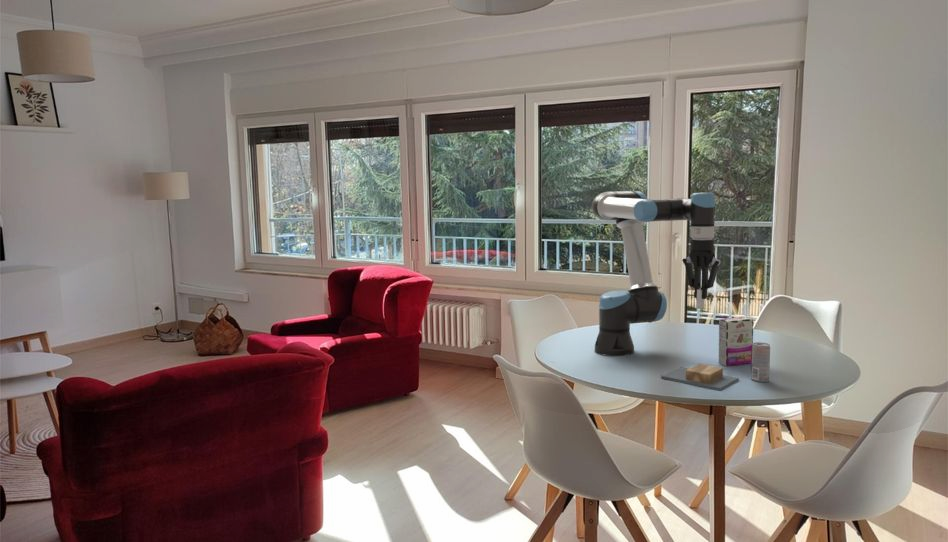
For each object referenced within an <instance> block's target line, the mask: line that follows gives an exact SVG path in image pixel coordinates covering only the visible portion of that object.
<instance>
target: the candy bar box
mask: <svg viewBox="0 0 948 542" xmlns="http://www.w3.org/2000/svg"><path fill="white" fill-rule="evenodd" d="M753 343H754V318H751V317H748V316H741V317H739V316H738V317H731V318H721V319H718V364H719V365H721V366H725V367H733V366H741V365H743V366H744V365H750V364H751V365H752V346H753Z"/></svg>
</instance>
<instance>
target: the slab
mask: <svg viewBox="0 0 948 542" xmlns="http://www.w3.org/2000/svg"><path fill="white" fill-rule="evenodd" d="M689 368H690V369H687V370H686V379H688V380H693V381H698V382H702V383H707V384H710V383H712V382H714V381H716V380H718V379H720V378H722V377H723V375H724V368H723V367H721V366H720V367H719V366H714V365H713V366H712V365H709V364H704V363H703V364H702V363H699V364H695V366H692V367H689Z"/></svg>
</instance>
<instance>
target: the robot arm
mask: <svg viewBox="0 0 948 542" xmlns="http://www.w3.org/2000/svg"><path fill="white" fill-rule="evenodd" d="M591 209H592V212H593V214H594V216H595V217H597V218H598V219H600V220H604V221H615V223H616V227H617V228H618V229H620V231H621V235H622V236H621V237H622V241H623V242H622V243H623V247H624V248H623V249H624V253H625V260H626V265H627V271H628V277H629V282H630V283H629V284H630V287H629V289H627V290H612V291H607V292H605V293H603V294H601V295H600V297H599V300H598V301H599V302H598V308H599V309H598V310H599V311H598V315H599V316H598V318H599V319H598V321H599V322H598V326H599V327H598V329H599V331H598V334H597V338H596V339H595V344H594V352H595V353H597V354H600V355H603V356H604V355H605V356H612V357H616V356H617V357H620V356H621V357H622V356H623V357H624V356H630V355H632V354H634V353H635V344H634V341H633V338H632V336H631V331H630V330H631V329H630V327H631V325H633V324H642V323H643V324H644V323H653V322H658V321H661V320H662V319H663V318H664V316H665V315H666V312H667V310H668V309H667V308H668V301H667V297H666V295H665V294H664V292H661V291H659V287H658V285H657V284H655V283H654V282H653V277H652V272H651V271H652V270H651V266H650V261H649V260H650V258H649V254H648V249H647V242H646V238H645V232H644V227H643V225H644V224H645V223H650V222H669V221H670V222H671V221H672V222H673V221H674V222H675V221H690V238H691V240H690V241H689V246H690V247H689V248H690V249H689V250H690V251H689V254H688V256H687V257H684V258H683V259H682V264H683V265H684V267H685V272H686V273H685V274H686V277H687V280H688V281H687V282H688V286H689V287H692V288H693V289H694V295H693V296H694V298H695V299H696V309H704V308H705V300H706V299H707V298H708V290H709V289H712V288H713V287H714V286H715V281H716V277H717V274H718V269H719V267H720V265H721V264H722V260H721V259H718V258H716V255H715V253H714V250H715V240H714V238H715V221H716V220H715V218H716V217H715V215H716V197H715V193H714V192H693V193H691V196H690V198H685V197H681V198H679V197H678V198H677V197H676V198H662V199H661V198H659V199H658V198H657V199H656V198H655V199H653V198H652V199H649V198H647V195H645V194H644V193H643V192H642V191H638V190H619V191H605V192H601V193H599V194H597V195H596V196H595V197H594V199H593V200H592V203H591ZM692 263H693V264H692ZM711 264H712V266H711V269H710V265H711ZM692 265H693V266H692ZM709 269H710V272H709Z"/></svg>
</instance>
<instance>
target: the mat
mask: <svg viewBox="0 0 948 542" xmlns="http://www.w3.org/2000/svg"><path fill="white" fill-rule="evenodd" d="M690 368H691V367H689V368H688V367H684V366H680V367H678V368H676V369H674V370H671V371H669V372H667V373H664V374H662V375H661V379H663V380H669V381H674V382H678V383H684V384H688V385H692V386H698V387H702V388H706V389H711V390H715V391H716V390H717V391H722V390H724V389H725V388H727V387H729V386H731V385H733V384H735V383H736V382H738V381H740V380H739V377H736V376H729V375H726V374H723V377H722V378H720V379H718V380H716V381H714V382H712V383H710V384H707V383H702V382H698V381H693V380H688V379H686V370H687V369H690Z"/></svg>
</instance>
